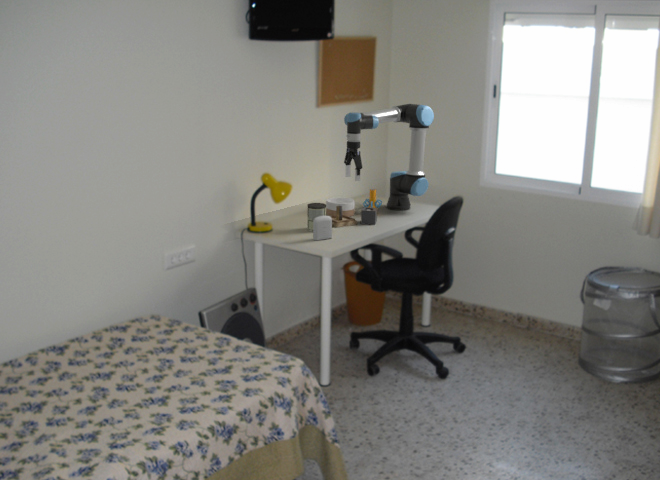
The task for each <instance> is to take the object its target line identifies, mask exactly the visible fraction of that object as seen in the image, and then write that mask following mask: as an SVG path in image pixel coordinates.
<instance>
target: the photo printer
mask: <svg viewBox="0 0 660 480" xmlns="http://www.w3.org/2000/svg"><path fill="white" fill-rule="evenodd" d="M312 234H313V235H312V237H313V241H321V240H328V239H332V238H333V226H332V218H331V217H330V216H329V215H326V216H319V217H316V218H314V220H313V232H312Z"/></svg>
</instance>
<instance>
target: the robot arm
mask: <svg viewBox="0 0 660 480" xmlns="http://www.w3.org/2000/svg"><path fill="white" fill-rule="evenodd" d="M434 118H435V114H434V111H433V109H432V108H431V107H430V106H429V105H426V104H417V103H416V104H415V103H406V104H401V105H394V106H392V107H391V108H385V109H378V110H371V111H364V112H349V113H347V114H345V115H344V118H343V121H344V124H345V125H346V136H345V137H346V140H347V141H346V152H345V155H344V161H343V164H345V177H347V178H349V177H350V178H351V175H352V174H351V167H352V160H353V161H354V166H355V168H354V170H355V171H354V173H355V175H354V181H355V182H360V181H361V170H362V169H363V163H362V157H361V151H360V150H358V149H360V148H361V131H362V130H373V129H377V128H378V127H379V124H383V123H388V122H389V123H390V122H393V123H405V124H409V125H408V128H409V129H410V130H411V133H410V134H411V135H410V150H409V162H408V170H403V171H402V170H399V171H392V172H391V173H390V176H389V197H388V200H387V202H386V209H389V210H393V211H407V210H411V207H412V205H411V201H410V196H409V195H411V196H413V197H421V196H423V195H425V193H426V192H427V191H428V190H429V189H428V188H429V181H428V179H427V178H426V172H425V171H424V165H425V164H424V163H425V161H424V160H425V149H426V136H427V131H428V130H429V128H430V126H431V124H432V123H433V122H434Z"/></svg>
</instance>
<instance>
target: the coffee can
mask: <svg viewBox="0 0 660 480" xmlns="http://www.w3.org/2000/svg"><path fill="white" fill-rule="evenodd" d="M306 206H307V231H308V232H312V233H313V220H314V218H316V217H319V216H327V214H326V203H323V202H311V203H308V204H307V205H306Z"/></svg>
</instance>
